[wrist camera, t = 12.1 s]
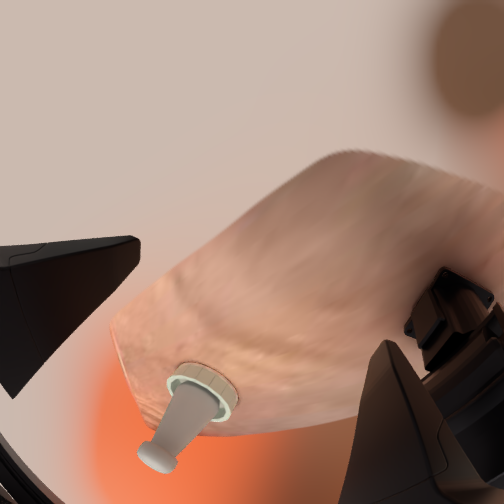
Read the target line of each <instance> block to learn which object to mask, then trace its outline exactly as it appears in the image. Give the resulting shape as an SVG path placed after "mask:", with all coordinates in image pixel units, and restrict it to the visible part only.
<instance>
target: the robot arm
mask: <svg viewBox="0 0 504 504" xmlns="http://www.w3.org/2000/svg"><path fill="white" fill-rule="evenodd" d="M140 249H141V242H140V240H139V239H138V238H136V237H133V236H131V235H128V236H116V237H103V238H92V239H81V240H70V241H59V242H49V243H39V244H29V245H12V246H0V383H1V385H2V386H3V388H4V389H5V390H6V392H7V393H8V394H9V396H10V397H11V398H12V399H14V398H15V397H16V396H17V395H18V393H19V392H20V391H21V390H22V389H23V387H24V386H25V385H26V384H27V383H28V381H29V380H30V379H31V378H32V377H33V376H34V374H35V373H36V372H37V371H38V370H39V369H40V368H41V367H42V365H43V364H44V362H46V361H47V360H48V359H49V357H50V356H51V355H52V354H53V353H54V352H55V351H56V350H57V349H58V348H59V347H60V346H61V344H62V343H63V342H64V341H65V340H66V339H67V338H68V337H69V336H70V335H71V334H72V333H73V332H74V331H75V330H76V329H77V328H78V327H79V326H80V325H81V324H82V323H83V322H84V321H85V320H86V319H87V318H88V317H89V316H90V315H91V314H92V313H93V312H94V311H95V310H96V309H97V308H98V307H99V306H100V305H101V304H102V303H103V302H104V301H105V300H106V299H107V298H108V297H109V296H110V295H111V294H112V293H113V292H114V291H115V290H116V289H117V288H118V287H119V286H120V284H121V283H122V282H123V281H124V280H125V279H126V277H127V276H128V275H129V274H130V273H131V272H132V271H133V270H134V268H135V267H136V266H137V265H138V264H139V261H140ZM445 272H447V274H446V275H445V276H442V275H443V273H445ZM489 297H490V298H489ZM488 298H489V299H488ZM493 300H494V295H493V293H492V292H491V291H489V290H487V289H485V288H484V287H482V286H480V285H478V284H477V283H475V282H473V281H471V280H469V279H468V278H466V277H464V276H462V275H460V274H458V273H457V272H455V271H453V270H451V269H449V268H447V267H443V268H441V269H440V270H439V272H438V274H437V275H436V277H435V279H434V281H433V282H432V284H431V286H430V288H428V289H427V290H426V291H425V293H424V294H423V296H422V297H421V299H420V301H419V302H418V304H417V305H416V307H415V308H414V310H413V312H412V313H411V318H410V319H409V320H408V322H407V323H406V325H405V326H404V333H405V335H407V336H410V337H412V338H415V339H417V344H418V348H419V349H421V351H422V356H423V361H424V367H425V370H427V371H430V373H428V374H427V375H426V376H425V377H424V378H422V379H421V380H420V378H419V377H418V375H417V374H416V372H415V371H414V369H413V368H412V366H411V364H410V363H409V361H408V360H407V358H406V357H405V355H404V354H403V352H402V351H401V349H400V348H399V347H398V345H397V344H396V343H395V342H393V341H390V340H387V339H386V340H384V341H382V343H381V344H380V346H379V347H378V348H377V350H376V351H375V353H374V354H373V355H372V357H371V359H370V362H369V366H368V371H367V375H366V379H365V384H364V388H363V392H362V396H361V400H360V406H359V412H358V418H357V425H356V430H355V436H354V441H353V446H352V450H351V456H350V460H349V464H348V468H347V472H346V476H345V480H344V484H343V487H342V491H341V495H340V498H339V501H338V504H504V308H503V307H502V305H501V304H500V303H499V302H497V303H496V304H495V305H494V307H493V310H492V311H491V312H490V314H489V312H488V308H489V307H490V305H491V304H492V302H493ZM410 328H411V330H408V329H410ZM0 483H1V484H2V485H3V487H4V488H5V489H6V490H7V492H8V493H9V494H10V495H11V496H12V497H13V499H14V500H13V499H12V497H11V496H10V495H9V494H8V493H7V492H6V490H5V489H4V488H3V487H2V486H0V504H65V503H64V502H63V501H61V500H60V499H59V498H58V497H57V496H56V495H55V494H54V493H53V492H52V491H51V490H50V489H49V488H48V487H47V486H46V485H45V484H44V483H42V481H41V480H39V478H38V477H37V476H36V475H35V474H34V473H33V472H32V471H31V470H30V469H29V468H28V466H27V465H26V464H25V463H24V462H23V461H22V460H21V458H20V457H19V456H18V455H17V454H16V452H15V451H14V450H13V449H12V448H11V446H10V445H9V443H8V442H7V441H6V440H5V438H4V437H3V436H2V434H1V433H0Z"/></svg>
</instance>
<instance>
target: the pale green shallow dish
mask: <svg viewBox="0 0 504 504" xmlns="http://www.w3.org/2000/svg"><path fill="white" fill-rule="evenodd" d="M187 380H189V381H193V382H195V383H197V384H199V385H201V386H203V387H205V388H207V389H208V390H209V391H211V392H212V393H213V394H214V395H216V396H217V397H218V398H219V400H220V406H219V411H218V413H217V414H216V415H215V416H214V418H213V419H212V420H211V421H215V422H222V421H225V420H228V419H229V417H230V415H231V413H232V411H233V410H234V408H235V406H236V404H237V402H238V394H237V391H236V389H235V388H234V386H233V385H232V384H231V383H230V382H229V381H228V380H227V379H226V378H225V377H224V376H223V375H221V374H220V373H218V372H217V371H215V370H214V369H212V368H210V367H208V366H205V365H202V364H199V363H194V362H186V363H183V364H181V365H180V366H179V367H178V368H177V369H176V370H175V371H174V372H173V373H172V375H171V376H170V377H169V378H168V379H167V388H168V390H169V392H170V394H171V396H172V397H173V394H174V392H175V390H176V388H177V387H178V385H180V384H181V383H183V382H185V381H187Z"/></svg>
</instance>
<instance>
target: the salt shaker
mask: <svg viewBox="0 0 504 504" xmlns="http://www.w3.org/2000/svg"><path fill="white" fill-rule="evenodd" d="M219 406H220V400H219V398H218V397H217V396H216V395H214V394H213V393H212V392H211V391H209V390H208V389H207V388H205V387H203V386H201V385H199V384H197V383H195V382H193V381H189V380H187V381H185V382H183V383H181V384H180V385H178V387H177V388H176V390H175V392H174V394H173V397H172V399H171V401H170V403H169V405H168V407H167V409H166V412H165V414H164V416H163V418H162V420H161V422H160V424H159V426H158V428H157V430H156V432H155V435H154V437H153V439H152V441H151V442H149V441H145V442H143V443H142V444H141V445H140V447H139V449H138V451H137V454H138V457H139V458H140V459H141V460H142V461H143V462H144V463H145V464H146V465H148V466H149V467H151V468H152V469H154V470H156V471H158V472H161V473H165V474H166V473H170V472H172V471H173V470H174V469H175V467H176V465H177V463H178V461H177V459H176V458H175V457H176V456H177V455H178V454H179V453H180V452H181V451H182V450H183V449H184V448H185V447H186V446H187V445H188V444H189V443H190V442H191V441H192V440H193V439H194V438H195V437H196V436H197V435H198V434H199V433H200V432H201V430H202V429H203V428H204V427H205V426H206V425H207V424H208V423H209V422H210V421H211V420H212V419H213V418H214V416H215V415H216V414H217V413H218V411H219Z"/></svg>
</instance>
